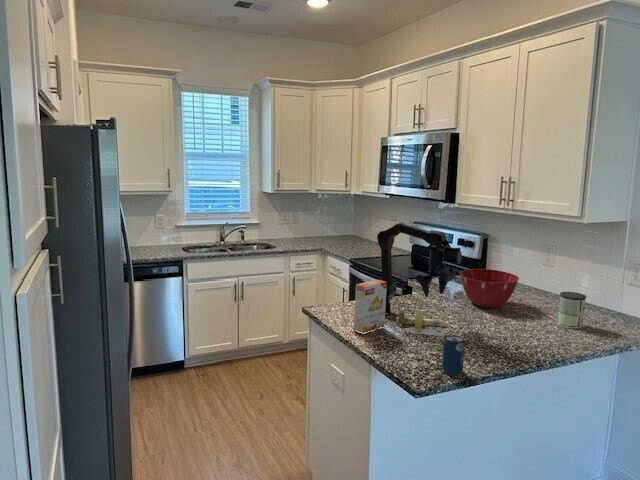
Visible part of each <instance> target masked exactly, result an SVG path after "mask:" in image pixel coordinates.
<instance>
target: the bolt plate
mask: <svg viewBox="0 0 640 480" xmlns="http://www.w3.org/2000/svg"><path fill="white" fill-rule="evenodd" d="M408 327H409V326H408ZM408 330H410V332H411V333H414V334H413V335H419V334H425V335H424V336H431V335H434V336H433V337H443V336H444V337H445V338H446V335H445V331H444V329H435V328H423V327H422V328H420V330H418V328H415V327H412V326H411V327H409V329H408Z"/></svg>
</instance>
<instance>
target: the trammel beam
mask: <svg viewBox="0 0 640 480" xmlns="http://www.w3.org/2000/svg"><path fill="white" fill-rule="evenodd" d="M396 322H398V323H397V325H398V324H400V326H399V327H400V328H402V327H403V326H402V325H405V324H404V323H409V324H408V325H414V324H415V317H408V316H407V317H406V316H405V310H398V316H396ZM443 324H444V320H443V319H433V318H431V319H430V318H423V319H422V326H427V325H430V327H439V326H440V328H441V327H443V326H444V325H443Z"/></svg>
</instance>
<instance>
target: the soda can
mask: <svg viewBox="0 0 640 480" xmlns="http://www.w3.org/2000/svg"><path fill="white" fill-rule="evenodd" d="M442 344H443V345H442V360H441V369H442V370H443V372H444V374H446V375H449V374H450V375H449V376H459V375H461V373H462V372H463V370H464V361H465V360H464V358H465V346H466V345H465V342H464V339H463V337H461V336H459V335H455V334H453V335H451V334H450V335H445V338H444V340H443V343H442Z"/></svg>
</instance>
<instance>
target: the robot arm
mask: <svg viewBox="0 0 640 480" xmlns="http://www.w3.org/2000/svg"><path fill="white" fill-rule="evenodd" d="M400 234H404V235H407V236H411V237H414V238H417V239H420V240H423V241H424V242H425V243H427V244H428V246H427V247H425V250H427V251H429V252H430V253H429V261H428V262H427V264H426V265H428V266H429V267H428V268H429V269H428V271H426V273H423V272H422V273H418V274H416V275H415V281H417V283H419V285H420V286H421V289H422V291H423V292H424V294H423V295H424V296H425V297H426V298H428V297H429V293H430V286H431V284H432V283H433V282H432V281H433V280H435V279H438V288H439V294H441V295H443V294H444V292H445V290H446V286H447V285H448V283H450V282H451V281H452V280H453V279H455V277H456V269H455V268H453V267H451V268H450V267H449V268H447V267H446V263H450V264H456V265H460V264H461V262H462V260H463V254H462V251H461V249H462V248H461V247H453V246H451V244H450V242H449V241H448V239H447V236H446V235H447V234H446V233H445V232H444V231H438V230H437V231H436V230H425V229H422V228H419V227H417V226H416V227H415V226H413V225H409V224H405V223H404V222H399V223H396V224H394V225H393V226H391V227H390V228H387V229H386V230H381V231H379V232H378V233H377V237H376V238H377V244H378V246H379V248H380V253H381V254H380V258H381V259H380V260H381V279H380V280H381V281H385V282H387V290H386V306H385V313H389V314H390V313H391V310H392V309H391V305H392V304H391V302H390V301H391V299H392V298H393V297H394V296H395V295H396V291H398V290H397V282H395V281H394V280H393V265H392V263H393V260H392V249H393V247H394V244H395V239H396V238H395V237H397V236H399V235H400ZM444 262H445V263H444Z"/></svg>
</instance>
